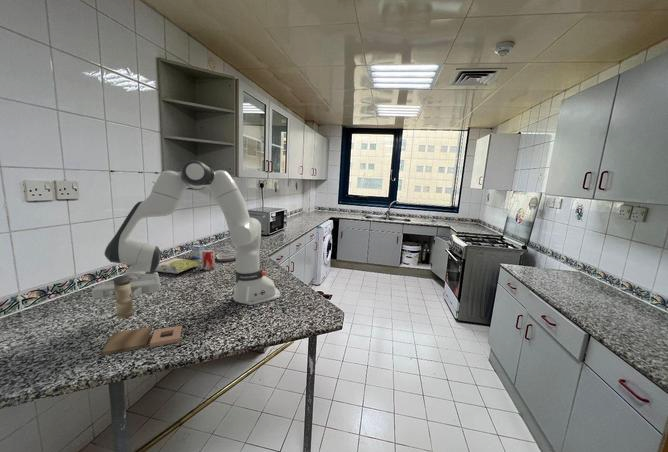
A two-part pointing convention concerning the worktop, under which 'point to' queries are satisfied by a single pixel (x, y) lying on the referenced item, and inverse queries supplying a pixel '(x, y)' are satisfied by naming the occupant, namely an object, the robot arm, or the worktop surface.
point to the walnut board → (127, 340)
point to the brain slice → (226, 256)
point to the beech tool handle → (123, 297)
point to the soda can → (208, 259)
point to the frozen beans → (176, 265)
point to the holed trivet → (166, 336)
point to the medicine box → (197, 251)
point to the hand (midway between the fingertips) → (122, 296)
